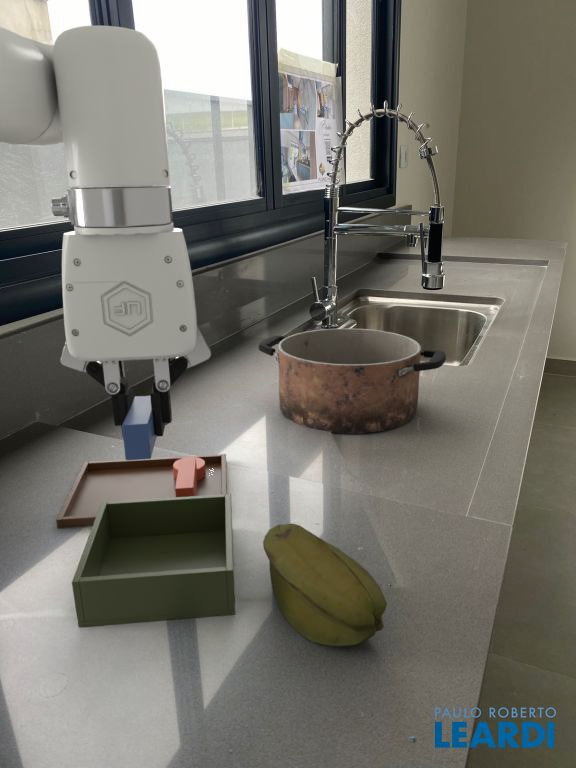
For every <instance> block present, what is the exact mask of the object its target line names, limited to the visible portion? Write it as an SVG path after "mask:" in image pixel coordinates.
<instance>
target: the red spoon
mask: <svg viewBox="0 0 576 768" xmlns="http://www.w3.org/2000/svg"><path fill="white" fill-rule="evenodd" d="M173 473H174V478H175V479H176V487H175V493H176V497H189V496H196V492H197V481H198V480H201V479H202V478H204V477H205V475H206V468H205V461H204V460H203V459H201V458H197V457H186V458H182V459H179V460H177V461H175V462H174V464H173Z"/></svg>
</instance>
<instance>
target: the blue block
mask: <svg viewBox="0 0 576 768" xmlns="http://www.w3.org/2000/svg"><path fill="white" fill-rule="evenodd" d="M169 424H170V423H165V426H168V425H169ZM122 430H123V436H122V439H123V445H124V446H123V449H124V458H125V459H124V460H139V459H151V458H152V455H153V452H154V448H155V445H156V441H157V438H158V436H156V435H155V433H154V423H153V412H152V408H151V397H150V395H138V396H134V397H133V403H132V405H131V407H130V410H129V412H128V414H127V416H126V418H125V420H124V423H123V425H122V427H121V431H122Z"/></svg>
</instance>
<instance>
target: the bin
mask: <svg viewBox="0 0 576 768" xmlns="http://www.w3.org/2000/svg"><path fill="white" fill-rule="evenodd" d="M232 512H233V511H232V494H231V493H227V494H221V495H205V496H189V497H173V498H157V499H141V500H125V501H109V502H101V505H100V508H99V510H98V513H97V516H96V519H95V521H94V524H93V526H91V530H90V532H89V535H88V537H87V540H86V543H85V546H84V549H83V551H82V554H81V556H80V559H79V562H78V564H77V567H76V570H75V573H74V575H73V578H72V580H71V586H72V593H73V600H74V606H75V613H76V620H77V621H76V622H77V626H78V628H82V627H83V628H84V627H96V626H108V625H121V624H132V623H145V622H156V621H157V622H158V621H170V620H171V621H172V620H182V619H195V618H207V617H218V616H231V615H236V594H235V593H236V592H235V589H236V588H235V564H234V562H235V561H234V535H233V534H234V533H233V516H232V515H233V513H232Z"/></svg>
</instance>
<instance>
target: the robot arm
mask: <svg viewBox="0 0 576 768" xmlns="http://www.w3.org/2000/svg"><path fill="white" fill-rule="evenodd" d="M164 91H165V90H164V79H163V67H162V58H161V53H160V49H159V48H158V45H156V43H155V42H154V40H153V39H152V38H151V37H150V36H148V35H147V34H146V33H143V32H141V31H138V30H135V29H132V28H128V27H123V26H113V25H82V26H76V27H72V28H69V29H66V30H64V31H62V32H61V33H60V34H59V35H58V36H57V37H56V38H55V40H54V43H53V44H47V43H44V42H41V41H37V40H36V39H32V38H29V37H25V36H22V35H20V34H18V33H16V32H13V31H11V30H9V29H7V28H4V27H3V26H0V143H4V144H10V145H16V146H25V147H47V146H55V145H60V144H63V149H64V156H65V166H66V174H67V178H68V179H67V180H68V181H67V182H68V187H69V188H68V189H66V192H67V193H66V194H65V195H62V196H61V197H52V198H51V201H50V205H51V211H52V214H53V216H54V217H63V218H68V221H70V225H71V226H73V228H74V230H72V231H67V232H64V233H63V235H62V245H61V248H62V249H61V288H62V307H63V323H64V324H63V325H64V334H65V343H64V346H63V349H62V353H61V356H60V359H59V361H60V364H61V366H64V367H65V368H69V369H72V370H74V371H78V372H81V373H86V374H87V375H89V377H91V378H92V379H94V380H95V382H97V383H99V384H100V385H101V386H102V387H104V388H105V391H106V392H107V393H108V394H109V395H110V396H111V397H110V398H111V405H112V406H111V407H112V414H113V415H112V416H113V422H114V426H115V427H121V428H122V425H123V423H124V420H125V418H126V416H127V414H128V412H129V410H130V407H131V405H132V403H133V400H134V394H133V393H134V392H133V386H132V385H131V384H130V382H129V380H128V379H127V377H126V373H125V364H124V363H125V362H124V361H140V360H141V361H142V360H143V361H144V360H152V363H153V371H154V379H153V383H152V387H151V391H150V395H149V396H150V397H151V408H152V412H153V423H154V433H155V435H156V436H157V437H163V436H164V432H165V428H166V425H165V423H169V424H172V420H173V415H172V413H173V412H172V401H171V387H172V386H173V384H174V383H175V382H176V381H177V380H178V379H179V378H180V377H181V376H182V375H183V374H184V373H185V371H186V370H187V369H190V368H193V367H195V366H198V365H200V364H202V363H204V362H206V361H208V360H210V359H211V357H212V349H211V347H210V344H209V342H208V340H207V338H206V337H205V334H204V333H203V331H202V329H201V327H200V325H199V323H198V318H197V307H196V298H195V297H196V296H195V289H194V282H193V281H194V280H193V273H192V267H191V262H190V256H189V252H188V248H187V242H186V239H185V238H186V237H185V235H184V231H183V229H182V228H178V227H175V226H174V215H173V213H174V212H173V199H172V187H171V177H170V164H169V147H168V133H167V119H166V107H165V106H166V105H165V93H164ZM121 435H122V436H121V437H123V430H122V429H121Z"/></svg>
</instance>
